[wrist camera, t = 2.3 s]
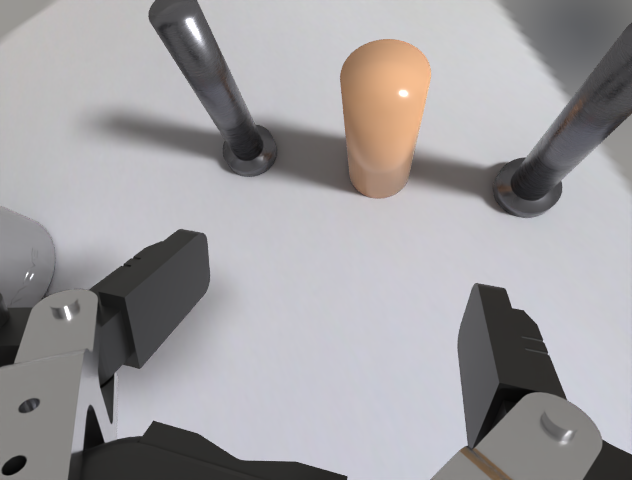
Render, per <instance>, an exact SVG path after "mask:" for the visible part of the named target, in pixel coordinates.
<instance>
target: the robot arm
mask: <svg viewBox="0 0 632 480" xmlns="http://www.w3.org/2000/svg"><path fill="white" fill-rule="evenodd" d="M55 259H56V258H55V247H54V244H53V241H52V238H51V236H50V235H49V233H48V232H47V230H46V229H45V228H44V227H43V226H42V225H41V224H40V223H38V222H36V221H34V220H32V219H30V218H28V217H25V216H23V215H21V214H18V213H16V212H14V211H12V210H9V209H7V208H5V207H2V206H0V480H347V477H348V476H344V475H341V474H337V473H334V472H330V471H327V470H323V469H320V468H316V467H313V466H309V465H306V464H302V463H299V462H285V461H244V460H239V459H237V458H235V457H234V456H232V455H230V454H229V453H227V452H226V451H224V450H223V449H221V448H220V447H218V446H216V445H215V444H213V443H212V442H210V441H209V440H207V439H205V438H204V437H202V436H201V435H199V434H198V433H194V432H191V431H187V430H184V429H180V428H177V427H173V426H170V425H166V424H163V423H159V422H156V421H153V422H152V424H151V425H150V426H149V428H148V429H147V431H146V432H145V433H144V435H143V436H137V437H127V438H122V439H117V411H118V375H117V372H116V371H117V370H118V369H119V368H120V367H121V366H122V365H127V366H131V367H135V368H138V369H140V368H141V367H142V366H143V365H144V364H145V363H146V361H147V360H148V359H149V358H150V357H151V356H152V354H153V353H154V352H155V351H156V350H157V349H158V348H159V346H160V345H161V344H162V343H163V342H164V341H165V339H166V338H167V337H168V336H169V335H170V334H171V332H172V331H173V330H174V329H175V328H176V327H177V326H178V324H179V323H180V322H181V321H182V320H183V319H184V317H185V316H186V315H187V314H188V313H189V312H190V311H191V309H192V308H193V307H194V306H195V305H196V304H197V302H198V301H199V300H200V299H201V298H202V297H203V295H204V294H205V293H206V291H207V289H208V286H209V282H210V268H209V256H208V243H207V237H206V235H205V234H204V233H200V232H195V231H189V230H183V229H179V230H177V231H176V232H175V233H173V234H172V235H171V236H169V237H168V238H167V239H166V240H164V241H161V242H159V243H156V244H154V245H151V246H149V247H146V248H144V249H143V250H142V251H140V252H139V253H138V254H136V255H135V256H134V257H133V259H132V258H131V259H130V260H128V261H127V262H126V263H124V266H120V267H119V268H118V269H116V270H115V271H114V272H112V273H111V274H110V275H108V276H107V277H106V278H104V279H103V280H102V281H100V282H99V283H97V284H96V285H95V286H93V287H92V288H91V289H89V290H84V289H72V290H66V291H61V292H58V293H55V294H52V295H50V296H48V297H46V298H44V299H42V297H43V296H44V294H45V292H46V290H47V288H48V287H49V285H50V282H51V279H52V276H53V273H54V267H55ZM41 299H42V300H41ZM40 300H41V301H40ZM39 301H40V302H39ZM458 358H459V367H460V376H461V385H462V395H463V404H464V413H465V422H466V432H467V441H468V446H465V447H463V448H462V449H461V450H459V451H458V452H457V453H456V454H455V455H454V456H453V457H452V458H451V459H450V460H449V461H448V462H447V463H446V464H445V465H444V466H443V467H442V468H441V469H440V470H439V471H438V472H437V473H436V474H435V475H434V476H433V477H432V478H431V479H430V480H632V455H631V454H629V453H627V452H625V451H623V450H621V449H619V448H617V447H615V446H613V445H611V444H609V443H607V442H606V441H604V440H602V437H601V434H600V432H599V430H598V428H597V426H596V425H595V423H594V422H593V421H592V420H591V418H590V417H589V416H588V415H587V414H586V413H584V412H583V411H582V410H581V409H580V408H578V407H577V406H575V405H574V404H572V403H571V402H569V401H567V399H566V396H565V394H564V391H563V389H562V386H561V384H560V381H559V379H558V376H557V374H556V371H555V369H554V366H553V364H552V361H551V358H550V356H549V355H548V351H547V348H546V346H545V343H543V338H542V336H541V333H540V331H539V328H538V326H537V324H536V323H535V322H534V321H533V320H532V319H531V318H530V317H529V316H528V315H527V314H526V313H525V311H524V310H518V309H513V308H512V307H511V304H510V301H509V298H508V294H507V291H506V289H505V288H501V287H495V286H490V285H484V284H478V283H475V284H474V286H473V288H472V290H471V293H470V297H469V300H468V303H467V306H466V309H465V313H464V316H463V319H462V322H461V326H460V329H459V335H458Z"/></svg>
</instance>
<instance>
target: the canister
mask: <svg viewBox="0 0 632 480" xmlns="http://www.w3.org/2000/svg"><path fill="white" fill-rule="evenodd" d="M430 79H431V69H430V65H429V62H428V60H427V58H426V57H425V55H424V54H423V53H422V52H421V51H420V50H419V49H418V48H416V47H415V46H413V45H411V44H409V43H406V42H404V41H400V40H393V39H383V40H376V41H372V42H369V43H367V44H364V45H363V46H361V47H359V48H358V49H356V50H355V51H354V52H352V53H351V54H350V56H349V57H348V58H347V59H346V61H345V62H344V64H343V67H342V70H341V75H340V82H341V93H342V103H343V114H344V124H345V135H346V145H347V156H348V166H349V176H350V180H351V182H352V184H353V186H354V187H355V188H356V189H357V190H358V191H359V192H360V193H362V194H363V195H365V196H368V197H371V198H387V197H390V196H393V195H395V194H396V193H398V192H399V191H400V190H401V189H403V187H404V186H405V185H406V183H407V181H408V178H409V174H410V170H411V165H412V161H413V156H414V152H415V147H416V143H417V138H418V134H419V129H420V125H421V120H422V115H423V111H424V106H425V102H426V97H427V93H428V88H429V84H430Z"/></svg>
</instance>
